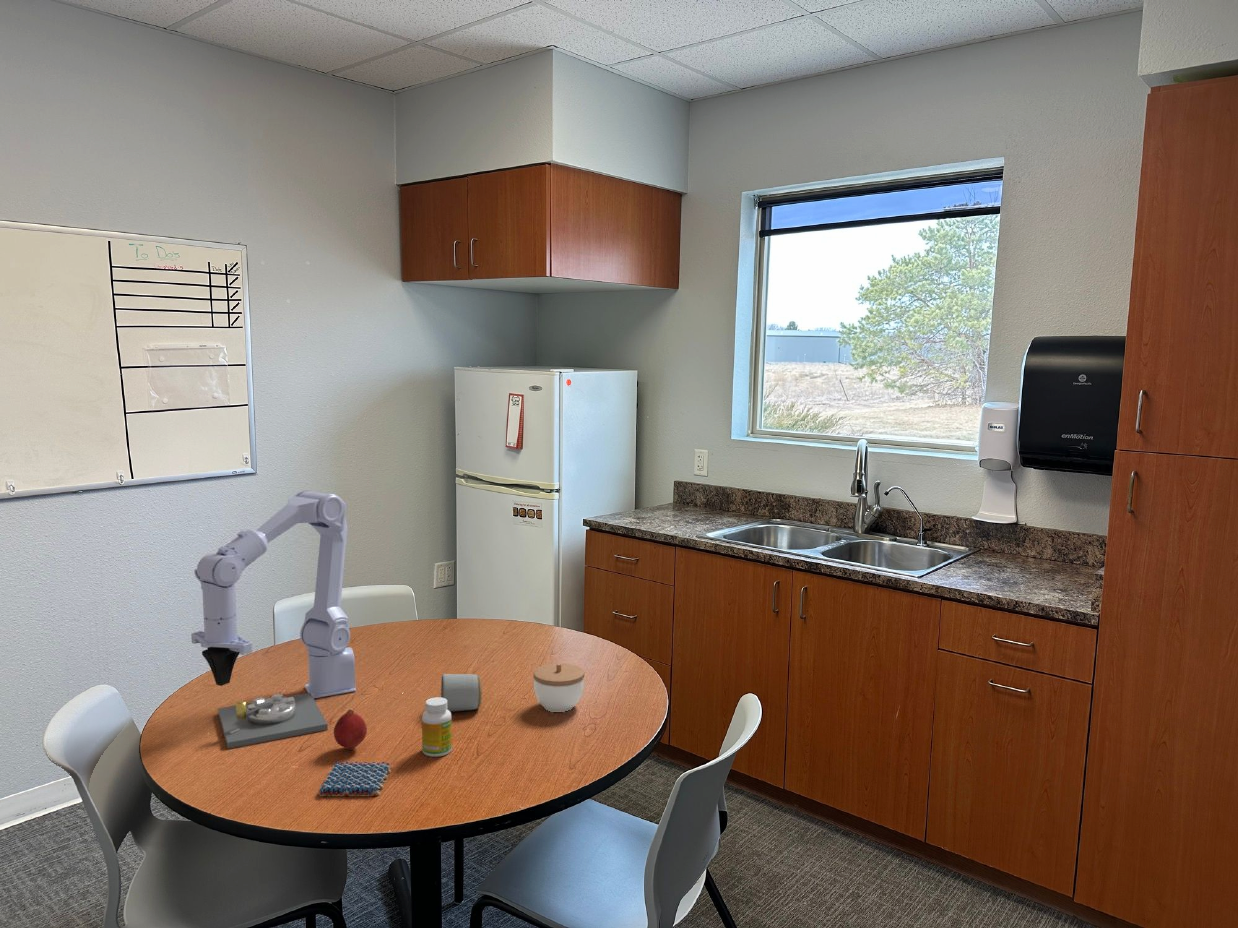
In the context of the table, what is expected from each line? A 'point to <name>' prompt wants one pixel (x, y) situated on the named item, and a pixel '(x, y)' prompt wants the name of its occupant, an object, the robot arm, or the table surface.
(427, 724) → the supplement bottle
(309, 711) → the base plate
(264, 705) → the lathe jaw chuck
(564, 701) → the lidded jar
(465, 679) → the ceramic mug
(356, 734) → the onion
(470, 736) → the table surface
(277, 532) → the robot arm
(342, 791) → the woven mat
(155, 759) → the table surface
